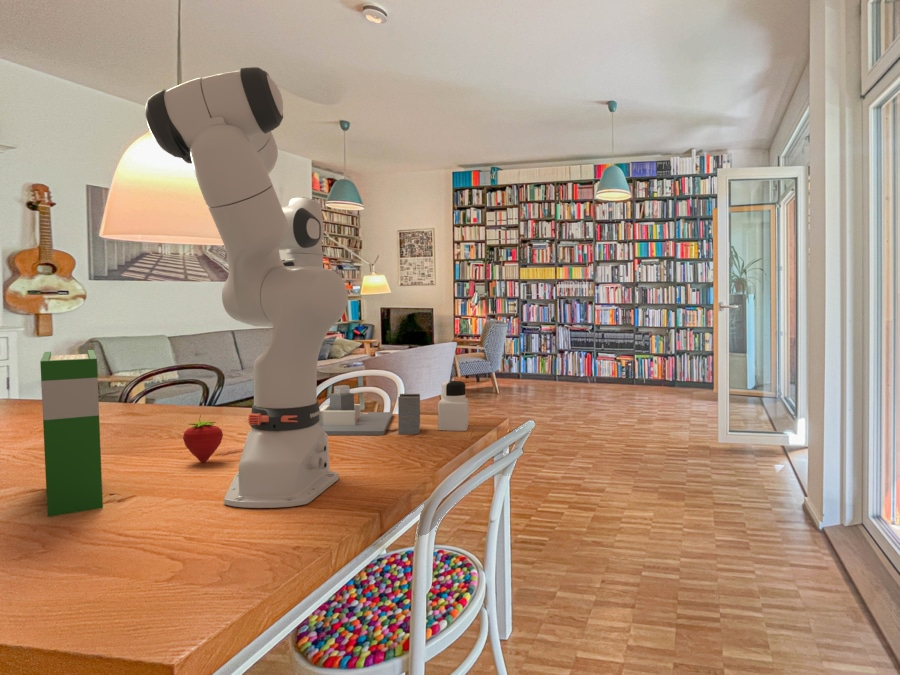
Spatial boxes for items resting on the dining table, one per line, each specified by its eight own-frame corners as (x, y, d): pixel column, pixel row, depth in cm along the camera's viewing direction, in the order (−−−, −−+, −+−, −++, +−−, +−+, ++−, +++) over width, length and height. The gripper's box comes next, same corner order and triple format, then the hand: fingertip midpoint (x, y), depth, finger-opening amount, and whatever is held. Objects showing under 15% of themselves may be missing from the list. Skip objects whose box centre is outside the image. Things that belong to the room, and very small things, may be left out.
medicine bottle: (468, 425, 161) (468, 379, 160) (466, 431, 154) (466, 383, 153) (441, 424, 161) (441, 379, 160) (438, 430, 154) (437, 383, 153)
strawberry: (223, 464, 124) (222, 415, 123) (182, 467, 121) (180, 417, 121) (223, 457, 129) (222, 409, 129) (184, 460, 127) (183, 412, 126)
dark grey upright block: (418, 434, 150) (418, 397, 150) (398, 434, 150) (398, 397, 150) (420, 428, 156) (419, 393, 156) (400, 428, 156) (400, 393, 156)
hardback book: (50, 486, 110) (44, 351, 108) (98, 479, 114) (93, 349, 112) (47, 516, 95) (40, 361, 93) (102, 508, 99) (96, 358, 97)
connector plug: (354, 420, 161) (353, 385, 161) (341, 422, 158) (340, 387, 157) (343, 417, 164) (342, 384, 164) (330, 420, 161) (329, 386, 160)
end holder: (383, 435, 149) (383, 416, 149) (284, 435, 149) (284, 416, 149) (392, 415, 173) (392, 399, 173) (306, 415, 173) (306, 399, 173)
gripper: (335, 270, 158) (334, 324, 159) (259, 265, 145) (258, 323, 145) (348, 269, 154) (347, 325, 154) (270, 263, 140) (270, 324, 141)
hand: (303, 324), depth 150 cm, fingers open, 8 cm apart
